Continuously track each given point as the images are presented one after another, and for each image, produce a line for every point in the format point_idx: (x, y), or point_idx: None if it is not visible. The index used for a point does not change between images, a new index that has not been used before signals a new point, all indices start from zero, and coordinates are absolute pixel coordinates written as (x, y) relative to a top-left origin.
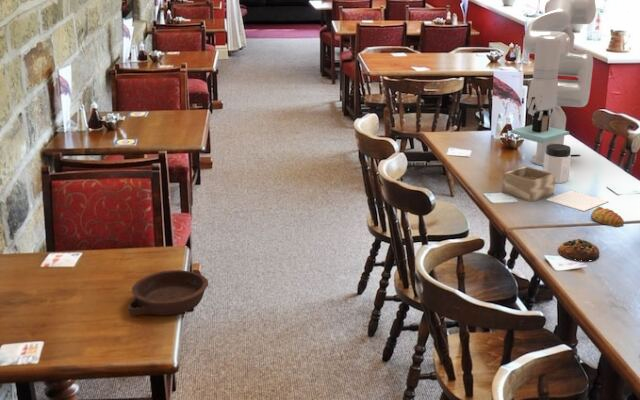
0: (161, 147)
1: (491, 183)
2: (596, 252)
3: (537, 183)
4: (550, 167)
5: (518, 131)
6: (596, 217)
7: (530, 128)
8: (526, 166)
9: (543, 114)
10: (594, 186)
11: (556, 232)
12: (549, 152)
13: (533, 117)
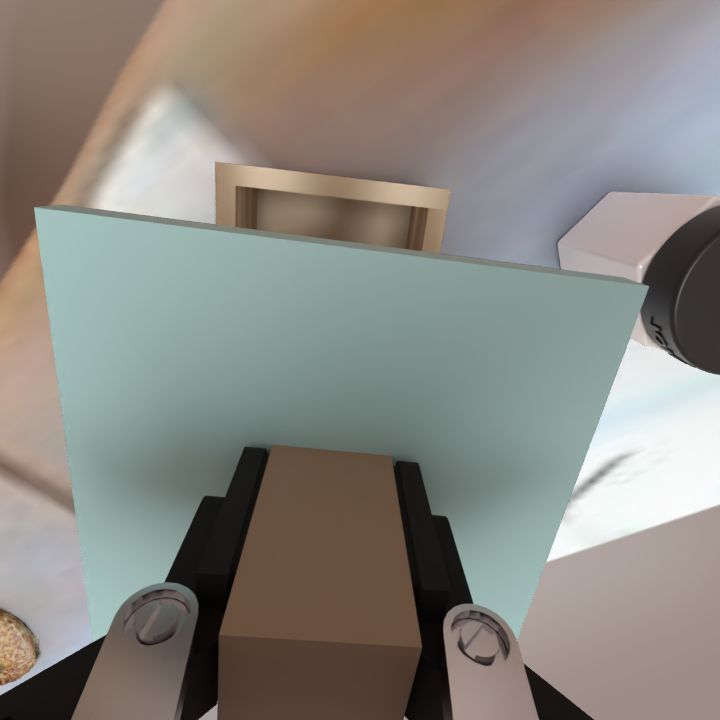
0: None
1: (340, 14)
2: None
3: None
4: (597, 268)
5: (66, 336)
6: None
7: (343, 366)
8: (449, 197)
9: (444, 683)
10: (608, 421)
11: (54, 540)
12: (664, 265)
13: (78, 671)
